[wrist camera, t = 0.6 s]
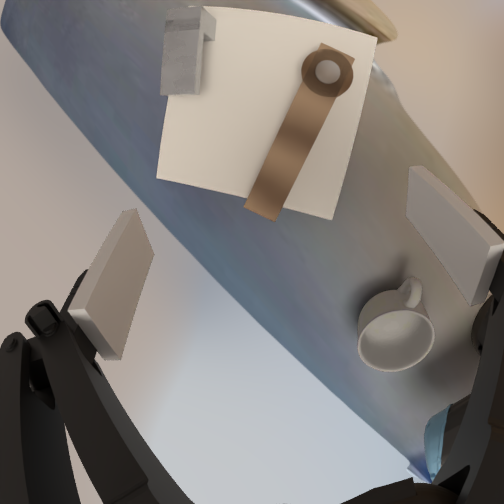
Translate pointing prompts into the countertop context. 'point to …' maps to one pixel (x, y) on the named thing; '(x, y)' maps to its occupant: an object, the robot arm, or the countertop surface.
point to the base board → (262, 108)
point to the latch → (300, 128)
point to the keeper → (185, 49)
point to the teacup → (395, 329)
